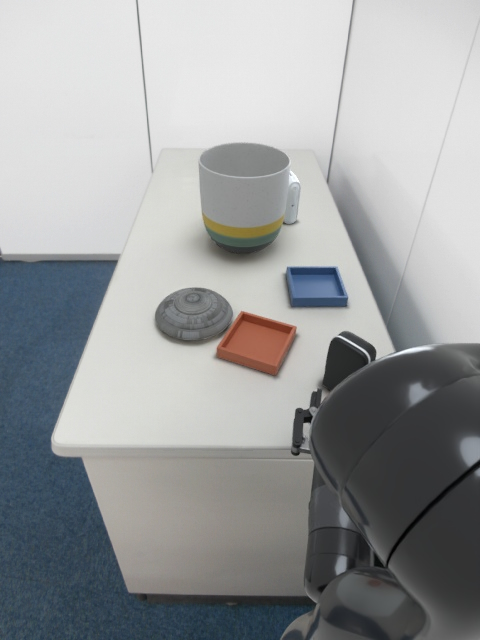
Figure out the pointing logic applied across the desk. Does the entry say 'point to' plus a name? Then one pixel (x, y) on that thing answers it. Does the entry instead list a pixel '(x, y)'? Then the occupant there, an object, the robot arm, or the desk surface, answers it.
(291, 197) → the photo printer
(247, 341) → the terracotta tray
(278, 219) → the planter
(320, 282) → the blue tray
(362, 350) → the battery charger
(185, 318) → the flying saucer
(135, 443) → the desk surface
